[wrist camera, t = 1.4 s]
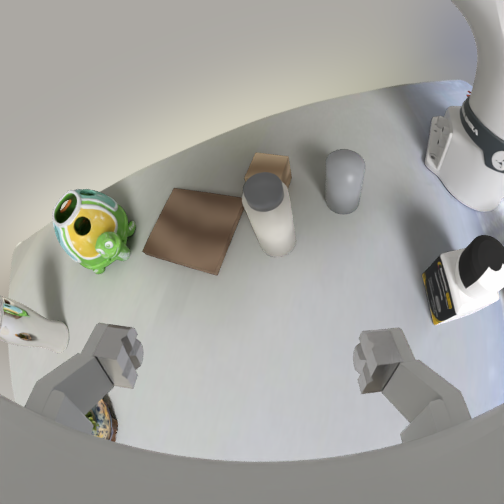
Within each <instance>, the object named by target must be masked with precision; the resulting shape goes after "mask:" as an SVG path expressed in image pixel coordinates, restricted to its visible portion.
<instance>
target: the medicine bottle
mask: <svg viewBox="0 0 504 504" xmlns="http://www.w3.org/2000/svg"><path fill="white" fill-rule="evenodd" d="M422 278H423V281H424V285H425V289H426V293H427V297H428V301H429V306H430V310H431V315H432V320H433V324H434V325H439V324H442V323H445V322H449V321H452V320H455V319H458V318H461V317H464V316H467V315H470V314H473V313H475V312H477V311H479V310H481V309H483V308H485V307H486V306H488V305H490V304H492V303H494V302H496V301H498V300H499V293H498V291H499V290H501V289H502V288H503V287H504V247H503V246H502V244H501V243H500V242H499V241H498V240H496V239H495V238H493V237H491V236H488V235H481V236H478V237H476V238H475V239H474V240H473V241H472V242H471V243H470V244H469V245H468V246H467V247H466V248H464V249H459V250H455V251H450V252H445V253H442V254H441V255H440V256H439V257H438V258H437V259H436V260H435V261H434V262H433V263H432V265H431V266H430V267H429V268H428V269H427V270H426V271H425V272H424V273H423V275H422Z"/></svg>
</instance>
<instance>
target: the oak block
mask: <svg viewBox="0 0 504 504" xmlns="http://www.w3.org/2000/svg"><path fill="white" fill-rule="evenodd" d="M261 172H269V173H273V174H275V175H277V176H278V177H279V178H280V180H281V181H282V182H283V183H284V184H285V185H286V186H287V188H289V185H290V182H291V178H292V176H291V170H290V164H289V157H288V156H281V155H273V154H264V153H255V155H254V157H253V160H252V162H251V164H250V166H249V168H248V171H247V173H246V175H245V177H244V179H245V182H246V181H247V180H248V179H249V178H250V177H251V176H253V175H255V174H257V173H261Z"/></svg>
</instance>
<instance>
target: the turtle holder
mask: <svg viewBox="0 0 504 504" xmlns="http://www.w3.org/2000/svg"><path fill="white" fill-rule="evenodd" d="M67 200H69V201H68V203H67V204H66V206H65V207H64V208H63V209H62V210H61V211H60V209H61V206H62V204H63V203H64V202H65V201H67ZM52 219H53V226H54V229H55V233H56V236H57V239H58V241H59V243H60V245H61V246H62V248H63V249H64V250H65V252H66V253H67V254H68V255H69V256H70V257H71V258H72V259H73V260H74V261H75V262H77V263H80V264H81V265H82V266H84V267H85V268H88V269H93V271H94V273H96V274H101V273H103V272H104V271H105V267H106V266H108V265H109V264H111V263H112V262H114V261H115V260H121V261H125V260H127V259H128V258H129V256H130V250H129V248H128V247H127V246H126V242H127V237H128V236H131V235H132V234H133V233H134V231H135V228H136V226H135V222H134V221H130V222H129V224H128V218H127V215H126V213H125V211H124V210H123V208H122V207H121V206H119V205H118V204H117V203H116V201H115V200H114V199H113V198H111V197H109V196H107V195H105V194H103V193H100V192H98V191H94V190H89V189H83V190H82V189H76V190H70V191H68V192H66V193H65V194H64V195H63V196H62V197H61V198H60V199H59V201H58V202H57V204H56V205H55V207H54V209H53V213H52Z"/></svg>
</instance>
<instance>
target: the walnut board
mask: <svg viewBox="0 0 504 504" xmlns="http://www.w3.org/2000/svg"><path fill="white" fill-rule="evenodd" d="M243 210H244V206H243V203H242V198H240V197H233V196H227V195H220V194H214V193H207V192H200V191H192V190H185V189H177V188H174V189H173V191H172V193H171V195H170V197H169V198H168V200H167V202H166V204H165V206H164V208H163V210H162V212H161V214H160V216H159V218H158V220H157V222H156V224H155V226H154V228H153V230H152V232H151V234H150V236H149V238H148V240H147V242H146V245H145V247H144V249H143V251H142V252H144V253H145V254H146V255H149V256H153V257H156V258H159V259H163V260H166V261H169V262H173V263H176V264H179V265H183V266H186V267H189V268H193V269H196V270H200V271H203V272H207V273H210V274H214V275H218V273H219V270H220V268H221V265H222V263H223V260H224V257H225V255H226V252H227V250H228V247H229V245H230V242H231V240H232V237H233V235H234V232H235V230H236V227H237V225H238V222H239V220H240V217H241V215H242V212H243Z"/></svg>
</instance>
